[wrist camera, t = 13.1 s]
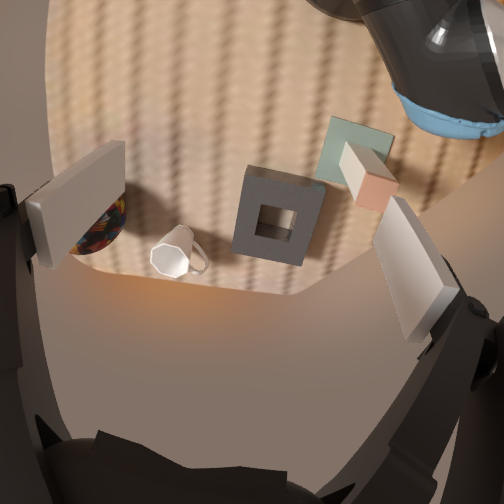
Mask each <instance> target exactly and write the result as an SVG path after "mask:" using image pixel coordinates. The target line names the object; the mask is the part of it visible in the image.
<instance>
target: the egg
mask: <svg viewBox="0 0 504 504" xmlns="http://www.w3.org/2000/svg"><path fill="white" fill-rule="evenodd" d="M125 220H126V207H125V203H124V199H123V196H122V195H121V196H120V197H119V198H118V199H117V200H116V201H115V202H114V203H113V204H112V205H111V206H110V207H109V208H108V209H107V210H106V211H105V212H104V213H103V214H102V216H101V217H100V218H99V219H98V220H97V221H96V222H95V223H94V224H93V225H92V226H91V227H90V229H89V230H88V231H87V232H86V233H85V234H84V235H83V236H82V237H81V239H80V240H79V241H78V242H77V243H76V244H75V245H74V247H73V248H72V249H71V250H70V251H69V253H71V254H74V255H86V254H91V253H94V252H97V251H99V250H101V249H103V248H105V247H106V246H108V245H109V244H110V243H111V242H112V241H113V240H114V239H115V238H116V237H117V236H118V235H119V233H120V232H121V230H122V228H123V226H124V224H125Z"/></svg>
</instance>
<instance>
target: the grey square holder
mask: <svg viewBox="0 0 504 504" xmlns="http://www.w3.org/2000/svg"><path fill="white" fill-rule="evenodd" d="M325 194H326V190H325V186H324V183H323V181H319V180H315V179H310V178H306V177H302V176H298V175H293V174H289V173H284V172H280V171H275V170H270V169H266V168H261V167H256V166H251V165H248V166H247V169H246V172H245V175H244V181H243V186H242V192H241V197H240V203H239V208H238V214H237V219H236V225H235V231H234V237H233V242H232V248H231V252H233V253H237V254H242V255H247V256H252V257H257V258H262V259H267V260H272V261H277V262H282V263H286V264H291V265H296V266H302V263H303V260H304V257H305V254H306V252H307V249H308V246H309V243H310V240H311V237H312V234H313V231H314V228H315V225H316V222H317V219H318V215H319V212H320V209H321V206H322V203H323V200H324V197H325ZM261 204H263V205H268V206H273V207H278V208H282V209H287V210H291V211H294V213H293V217H292V220H291V224H290V227H289V229H285V228H281V227H276V226H271V225H266V224H262V223H257V221H258V216H259V212H260V207H261Z"/></svg>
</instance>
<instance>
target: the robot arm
mask: <svg viewBox="0 0 504 504" xmlns="http://www.w3.org/2000/svg"><path fill="white" fill-rule="evenodd" d="M306 1H308V2H309V3H310V4H311V5H312V6H313V7H315V8H316V9H318V10H319V11H321V12H323V13H325V14H327V15H329V16H332V17H335V18H338V19H342V20H348V21H364V23H365V25H366V27H367V29H368V31H369V32H370V34H371V36H372V38H373V40H374V42H375V44H376V46H377V48H378V50H379V53H380V55H381V57H382V59H383V61H384V63H385V66H386V68H387V70H388V72H389V75H390V77H391V79H392V87H393V89H394V91H395V93H396V94H397V95H398V96H399V98H400V101H401V103H402V105H403V108H404V110H405V112H406V115H407V116H408V118H409V119H410V120H411V121H412V122H413V123H414V124H415V125H416V126H417V127H419V128H420V129H422V130H424V131H426V132H428V133H431V134H434V135H437V136H441V137H446V138H452V139H463V140H472V139H479V138H480V136H485V137H492V136H496V135H498V134H500V133H502V132H503V131H504V5H503V4H501V3H500V2H498V1H497V0H306ZM124 192H125V141H118V140H111V141H110V142H108V143H106V144H105V145H103V146H101V147H100V148H98V149H97V150H95V151H93V152H92V153H90V154H89V155H87V156H86V157H84V158H83V159H81V160H80V161H78V162H77V163H75V164H74V165H72V166H71V167H69V168H68V169H66V170H65V171H64V172H62V173H61V174H59V175H58V176H57V177H55V178H54V179H53V180H51V181H48V182H47V183H45V184H44V185H42V186H41V187H40V189H37V190H36V191H35V192H34V193H32V194H31V195H29V196H28V197H27V198H26V199H25V200H23V201H22V202H21V203H20V204H18V203H17V198H16V193H15V188H14V185H12V184H2V185H0V504H429V503H430V501H431V499H432V497H433V496H434V493H435V491H436V489H437V481H436V480H435V479H433V478H432V474H433V472H434V470H435V468H436V466H437V464H438V462H439V460H440V458H441V456H442V454H443V452H444V450H445V448H446V446H447V444H448V442H449V439H450V437H451V435H452V433H453V430H454V428H455V426H456V423H457V421H458V418H459V416H460V418H459V424H458V431H457V436H456V441H455V447H454V452H453V456H452V461H451V465H450V470H449V473H448V478H447V481H446V485H445V488H444V492H443V496H442V499H441V502H440V504H504V316H503V317H502V319H501V320H500V321H499V323H497V322H495V321H493V320H491V319H489V313H488V311H487V309H486V308H485V306H484V305H483V304H482V303H481V302H480V301H479V300H477V299H475V298H473V297H471V296H467V295H466V293H465V291H464V289H463V287H462V286H461V284H460V282H459V280H458V278H456V277H457V276H456V275H455V273H454V272H453V270H452V268H451V266H450V264H449V263H448V261H447V260H446V259H445V258H444V257H443V256H442V255H441V254H440V253H439V251H438V249H437V248H436V246H435V244H434V243H433V241H432V240H431V238H430V237H429V235H428V233H427V232H426V230H425V229H424V227H423V225H422V224H421V222H420V221H419V219H418V218H417V216H416V215H415V213H414V212H413V210H412V209H411V207H410V206H409V205H408V203H407V202H406V200H405V199H403V198H400V197H397V196H393V195H391V197H390V200H389V202H388V205H387V207H386V210H385V212H384V215H383V217H382V220H381V222H380V224H379V227H378V229H377V231H376V234H375V236H374V238H373V241H372V242H373V245H374V247H375V250H376V252H377V255H378V258H379V261H380V263H381V266H382V269H383V272H384V275H385V278H386V281H387V284H388V287H389V290H390V293H391V296H392V299H393V302H394V305H395V308H396V312H397V315H398V318H399V321H400V325H401V328H402V331H403V335H404V339H405V341H409V342H418V343H421V342H422V341H423V340H424V339H425V337H426V336H427V335H428V333H429V332H430V334H431V337H432V341H431V342H430V344H429V345H428V346H427V347H426V348H425V350H424V351H423V352H422V353H421V354H420V356H419V357H418V358H417V359H418V360H419V362H418V363H417V365H416V367H415V369H414V370H413V372H412V374H411V375H410V377H409V378H408V380H407V382H406V383H405V385H404V387H403V388H402V390H401V391H400V393H399V394H398V396H397V397H396V399H395V400H394V402H393V403H392V405H391V406H390V408H389V409H388V411H387V412H386V413H385V415H384V416H383V418H382V419H381V420H380V422H379V423H378V425H377V426H376V427H375V429H374V430H373V431H372V433H371V434H370V435H369V437H368V438H367V439H366V441H365V442H364V443H363V444H362V446H361V447H360V448H359V450H358V451H357V452H356V453H355V454H354V456H353V457H352V458H351V459H350V460H349V461H348V463H347V464H346V465H345V466H344V467H343V469H342V470H341V471H340V472H339V473H338V474H337V475H336V476H335V477H334V478H333V479H332V480H331V481H330V482H328V483H327V484H326V485H325V486H323V487H322V488H321V489H320V490H319V491H318V492H317V493H316V494H315V495H314V494H313V493H312V492H310V491H309V490H307V489H305V488H303V487H302V486H299V485H297V484H295V483H293V482H290V481H287V471H276V470H266V469H257V468H249V467H241V466H238V467H224V468H204V469H203V468H202V469H190V468H186V467H183V466H181V465H179V464H177V463H175V462H173V461H171V460H169V459H167V458H165V457H163V456H161V455H159V454H157V453H156V452H154V451H152V450H150V449H149V448H147V447H145V446H143V445H141V444H138V443H135V442H132V441H129V440H125V439H123V438H120V437H117V436H114V435H111V434H108V433H105V432H103V431H100V430H98V433H97V435H96V438H95V439H93V438H90V439H89V438H88V439H87V438H81V439H72V438H71V436H70V433H69V432H68V430H67V428H66V426H65V424H64V422H63V420H62V417H61V415H60V411H59V408H58V405H57V401H56V398H55V394H54V390H53V387H52V383H51V379H50V375H49V370H48V366H47V361H46V357H45V352H44V347H43V341H42V336H41V330H40V324H39V317H38V310H37V302H36V293H35V283H34V273H33V272H34V271H33V264H32V260H31V258H32V256H33V255H34V254H35V253H37V256H38V260H39V263H40V265H42V266H45V267H49V268H52V269H55V268H56V267H57V266H58V264H59V263H60V262H61V261H62V260H63V258H64V257H65V256H66V255H67V254H68V252H69V251H70V250H71V249H72V248H73V247H74V245H75V244H76V243H77V242H78V241H79V240H80V239H81V237H82V236H83V235H84V234H85V233H86V232H87V231H88V230H89V229H90V227H91V226H92V225H93V224H94V223H95V222H96V221H97V220H98V219H99V218H100V217H101V216H102V214H103V213H104V212H105V211H106V210H107V209H108V208H109V207H110V206H111V205H112V204H113V203H114V202H115V201H116V200H117V199H118V198H119V197H120V196H121V195H122V194H123V193H124ZM494 371H495V372H494ZM493 372H494V373H493Z"/></svg>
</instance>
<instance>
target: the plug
mask: <svg viewBox="0 0 504 504" xmlns="http://www.w3.org/2000/svg"><path fill="white" fill-rule="evenodd" d="M339 166H340V168H341V171H342V173H343V175H344V177H345V180H346V182H347V184H348V186H349V189H350V191H351V193H352V196H353V198H354V201H355V203H356V205H357V206H359V207H363V208H367V209H370V210H374V211H378V212H381V213H384V212H385V210H386V207H387V205H388V202H389V200H390V197H391V195H393V196H395V194H396V192H397V189H398V187H399V183H398V181H397V180H396V179H395V177H394V176H393V175H392V174H391V172H390V171H389V170H388V169H387V167H386V166H385V165H384V164H383V162H382V161H381V160H380V159H379V158H378V156H377V155H376V154H375V153H374V152H373V150H372V149H371V148H369V147H365V146H362V145H359V144H355V143H352V142H349V141H346V142H345V146H344V149H343V153H342V156H341V159H340V162H339Z"/></svg>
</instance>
